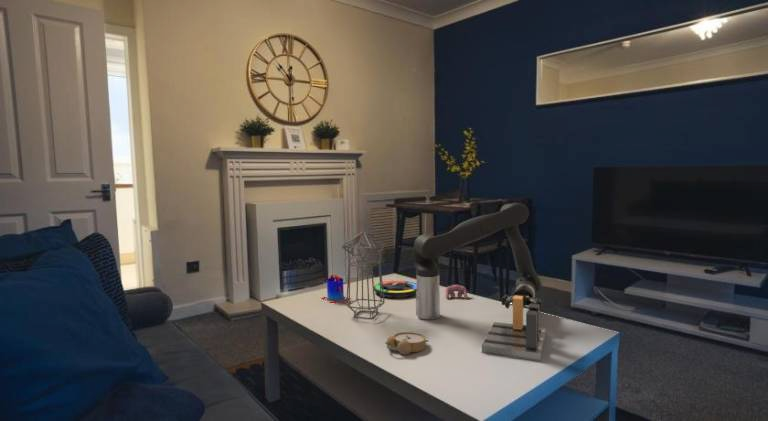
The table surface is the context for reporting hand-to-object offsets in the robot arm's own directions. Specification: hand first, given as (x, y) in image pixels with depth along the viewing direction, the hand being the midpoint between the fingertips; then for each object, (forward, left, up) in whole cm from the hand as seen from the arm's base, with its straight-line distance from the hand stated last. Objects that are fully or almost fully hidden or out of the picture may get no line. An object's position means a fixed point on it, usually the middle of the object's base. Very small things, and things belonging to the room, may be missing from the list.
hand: (519, 307), depth 157 cm
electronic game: (-37, +59, -10) cm, 70 cm away
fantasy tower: (-67, +53, -9) cm, 86 cm away
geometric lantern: (-54, +29, -9) cm, 62 cm away
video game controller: (-11, +45, -9) cm, 47 cm away
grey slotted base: (-6, -10, -9) cm, 15 cm away
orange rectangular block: (-2, -4, -6) cm, 8 cm away
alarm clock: (-43, -8, -10) cm, 45 cm away
